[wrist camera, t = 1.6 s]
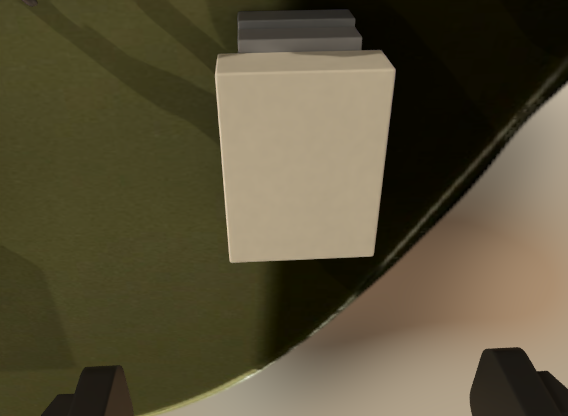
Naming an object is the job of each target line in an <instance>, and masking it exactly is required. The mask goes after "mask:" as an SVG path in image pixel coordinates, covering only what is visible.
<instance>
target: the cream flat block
mask: <svg viewBox="0 0 568 416" xmlns="http://www.w3.org/2000/svg"><path fill="white" fill-rule="evenodd" d="M395 72H396V70H395V68H394V67H393V65H392V64H391V63H390V61H389V60H388V59H387V57H386V56H385V55H384V53H383V52H382V51H381V50H358V51H315V52H272V53H229V54H218V56H217V64H216V71H215V82H216V95H217V107H218V120H219V132H220V145H221V158H222V170H223V183H224V195H225V208H226V221H227V233H228V246H229V258H230V262H231V263H236V262H258V261H280V260H302V259H325V258H347V257H369V256H373V255H374V249H375V240H376V232H377V223H378V215H379V207H380V198H381V190H382V181H383V173H384V165H385V156H386V148H387V140H388V131H389V123H390V114H391V106H392V98H393V89H394V81H395Z"/></svg>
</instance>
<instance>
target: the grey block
mask: <svg viewBox="0 0 568 416" xmlns="http://www.w3.org/2000/svg"><path fill="white" fill-rule="evenodd" d="M361 47H362V37H361V35H360V34H359V32H358V31H357V29H356V28H355V18H354V16H353V15H352V14H351V12H350V11H349V10H348V9H345V10H292V11H240V12H238V53H272V52H315V51H358V50H361Z"/></svg>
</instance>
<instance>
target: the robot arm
mask: <svg viewBox="0 0 568 416" xmlns="http://www.w3.org/2000/svg"><path fill="white" fill-rule="evenodd" d="M470 407H471V412H472V416H568V389H567V388H566V387H565V386H564V385H563V384H562V383H560V382H559V381H558V380H557V379H556V378H555V377H554V376H553V375H552V374H550V373H549V372H548V371H536V369H535V368H534V366H533V364H532V362H531V361H530V360H529V357H528V356H527V354H526V353H525V351H524V350H523V349H521V348H518V347H516V348H515V347H514V348H495V349H485V350H484V351H483V353H482V355H481V358H480V361H479V365H478V368H477V371H476V375H475V378H474V381H473V384H472V388H471V391H470ZM41 416H134V413H133V406H132V402H131V398H130V394H129V390H128V386H127V382H126V378H125V375H124V371H123V368H122V366H120V365H116V366H96V367H85V368H84V369H83V371H82V373H81V375H80V378H79V381H78V384H77V387H76V391H75V394H60V395H57V396H56V398H55V399H54V400H53V401H52V402H51V404H50V405H49V406H48V407H47V409H46V410H45V411H44V412H43V413H42V415H41Z"/></svg>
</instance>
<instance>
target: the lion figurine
mask: <svg viewBox="0 0 568 416" xmlns="http://www.w3.org/2000/svg"><path fill="white" fill-rule="evenodd" d="M22 1H23V2H25V3H26V4H27V5H29V6H37V4H38V3H37V1H36V0H22Z"/></svg>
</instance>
